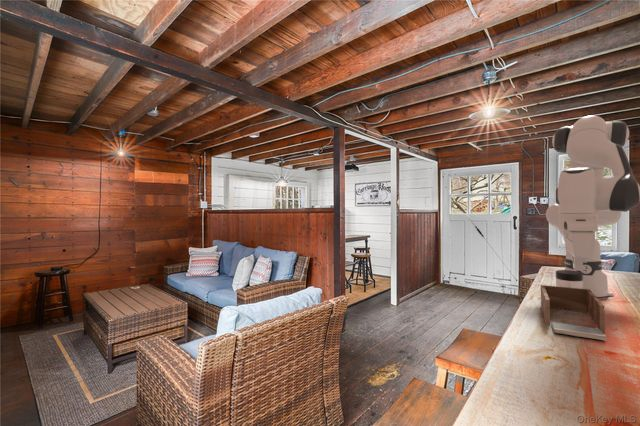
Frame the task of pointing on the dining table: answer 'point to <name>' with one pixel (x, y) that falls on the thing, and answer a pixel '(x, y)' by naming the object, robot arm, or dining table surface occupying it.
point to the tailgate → (578, 331)
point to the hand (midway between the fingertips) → (577, 269)
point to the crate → (572, 303)
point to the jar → (569, 279)
